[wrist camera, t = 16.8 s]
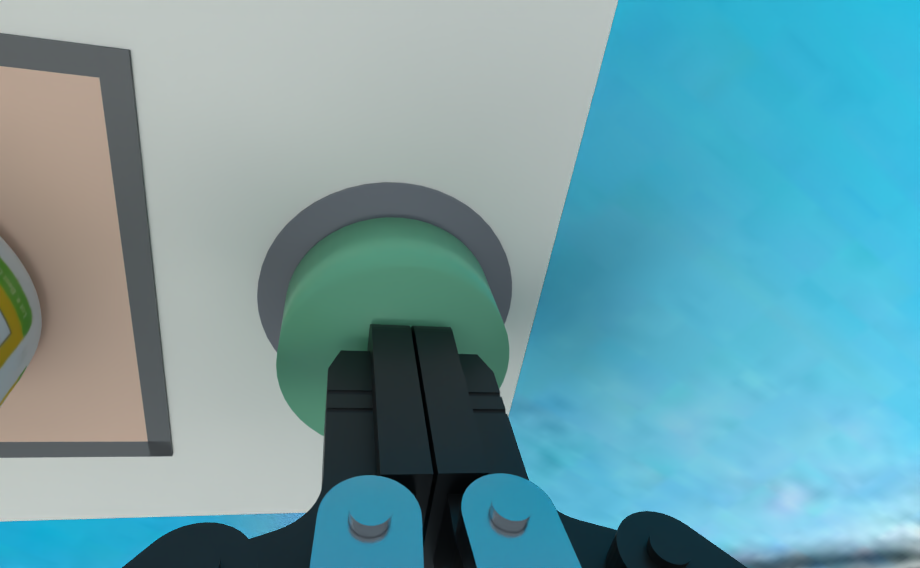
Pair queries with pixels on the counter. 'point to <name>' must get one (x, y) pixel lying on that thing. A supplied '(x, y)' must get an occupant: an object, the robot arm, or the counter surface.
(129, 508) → the white board
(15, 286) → the supplement bottle
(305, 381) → the button
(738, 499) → the counter surface
